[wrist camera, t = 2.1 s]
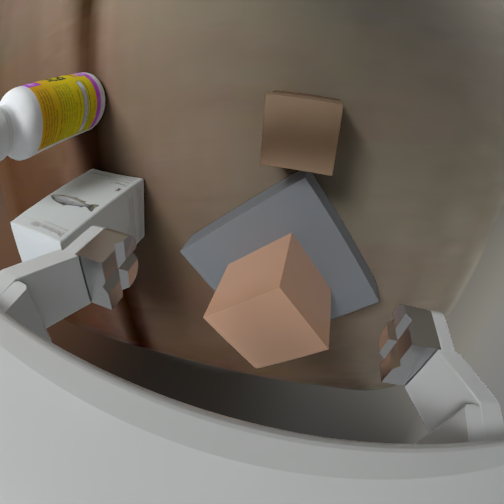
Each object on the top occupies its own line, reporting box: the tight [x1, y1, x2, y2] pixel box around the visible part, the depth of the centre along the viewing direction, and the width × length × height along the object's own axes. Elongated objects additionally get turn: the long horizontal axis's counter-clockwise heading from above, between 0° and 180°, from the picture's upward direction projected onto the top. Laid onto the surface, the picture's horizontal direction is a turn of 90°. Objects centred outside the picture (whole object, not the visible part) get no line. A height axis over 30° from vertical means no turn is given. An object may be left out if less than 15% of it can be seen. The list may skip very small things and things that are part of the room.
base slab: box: [180, 170, 379, 320], centre depth 29 cm, size 14×14×3 cm
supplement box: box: [11, 169, 145, 262], centre depth 26 cm, size 7×7×13 cm
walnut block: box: [260, 90, 343, 176], centre depth 20 cm, size 5×5×5 cm
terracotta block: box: [203, 233, 331, 368], centre depth 25 cm, size 7×7×7 cm
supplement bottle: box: [0, 72, 105, 161], centre depth 19 cm, size 7×7×13 cm
